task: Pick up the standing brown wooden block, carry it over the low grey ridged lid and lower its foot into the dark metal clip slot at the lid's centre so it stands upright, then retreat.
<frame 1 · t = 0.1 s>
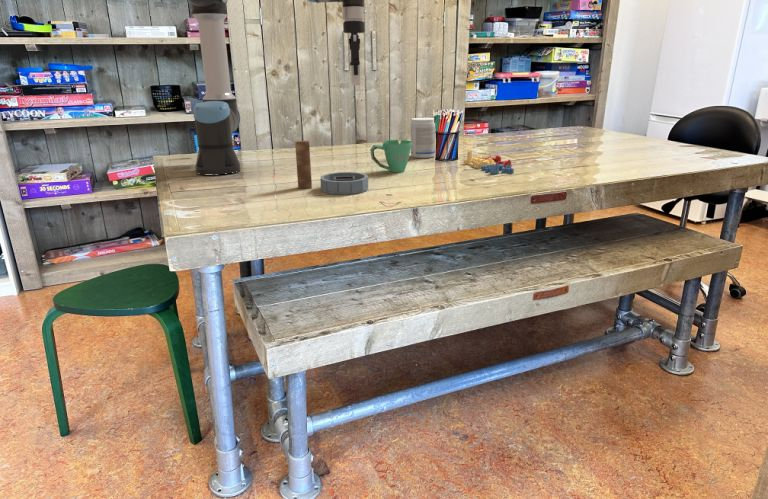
hand: (355, 84, 196), 28 cm above the table, fingers open, 13 cm apart
toy parts cluster: (482, 164, 200), on the table
clip: (344, 182, 161), in the grey ridged lid, point 2 cm above the table
brown wooden block: (305, 187, 164), on the table
supplement tub: (422, 157, 213), on the table
grey ridged lid: (344, 189, 162), on the table
mug: (390, 172, 186), on the table
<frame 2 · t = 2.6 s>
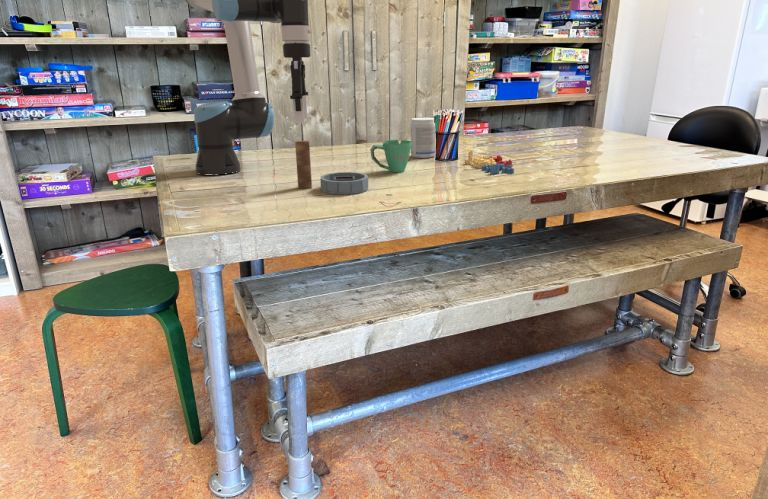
hand: (301, 120, 157), 20 cm above the table, fingers open, 13 cm apart
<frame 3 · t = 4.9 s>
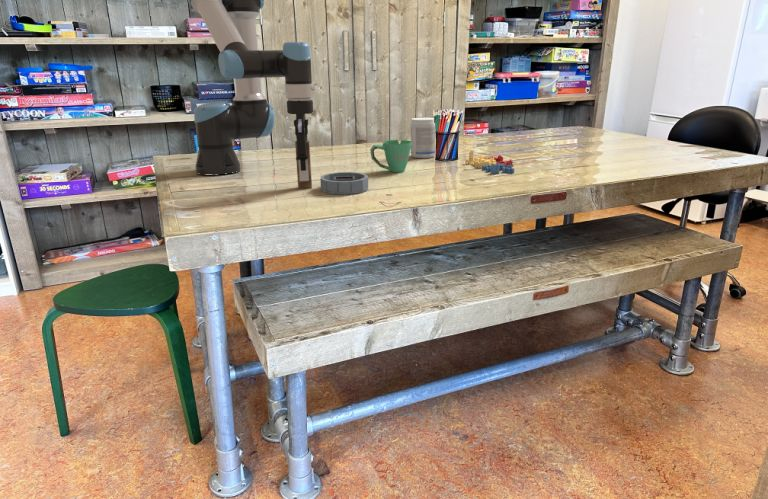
hand: (304, 179, 163), 2 cm above the table, fingers closed on brown wooden block, 2 cm apart
brown wooden block: (305, 187, 164), on the table, touching gripper
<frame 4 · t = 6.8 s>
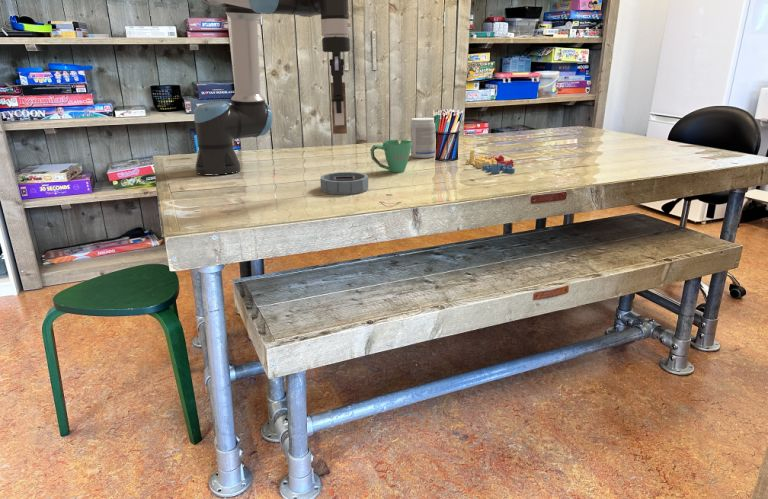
hand: (339, 124, 155), 19 cm above the table, fingers closed on brown wooden block, 2 cm apart
brown wooden block: (340, 133, 156), point 17 cm above the table, touching gripper
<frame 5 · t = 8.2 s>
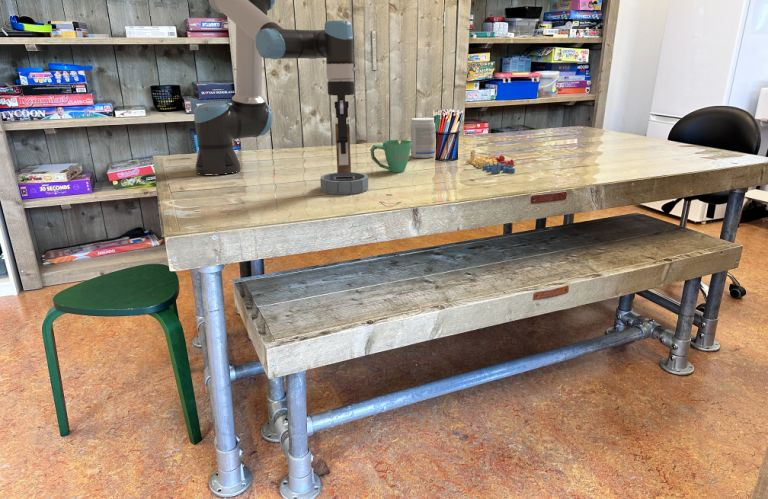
hand: (343, 163, 159), 8 cm above the table, fingers closed on brown wooden block, 2 cm apart
brown wooden block: (344, 172, 160), point 5 cm above the table, touching gripper
when the fingers open (4 cm above the table, at t = 9.1 s): brown wooden block stays where it is, resting on grey ridged lid.
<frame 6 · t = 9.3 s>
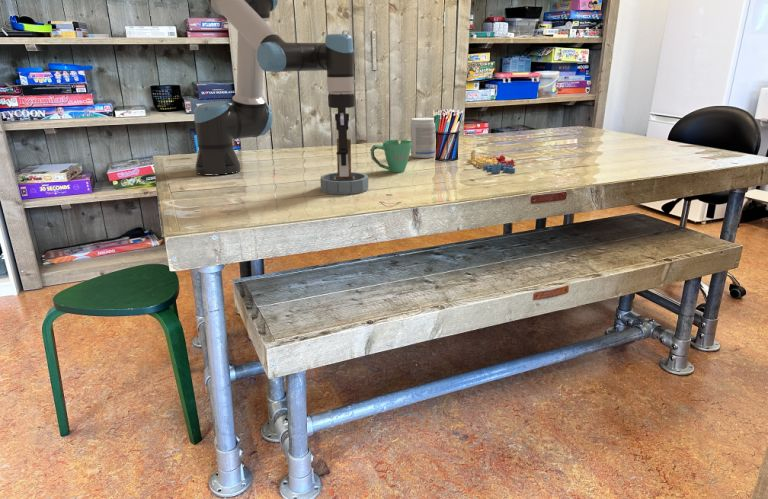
hand: (344, 174, 160), 5 cm above the table, fingers open, 5 cm apart
brown wooden block: (344, 186, 161), point 1 cm above the table, touching grey ridged lid
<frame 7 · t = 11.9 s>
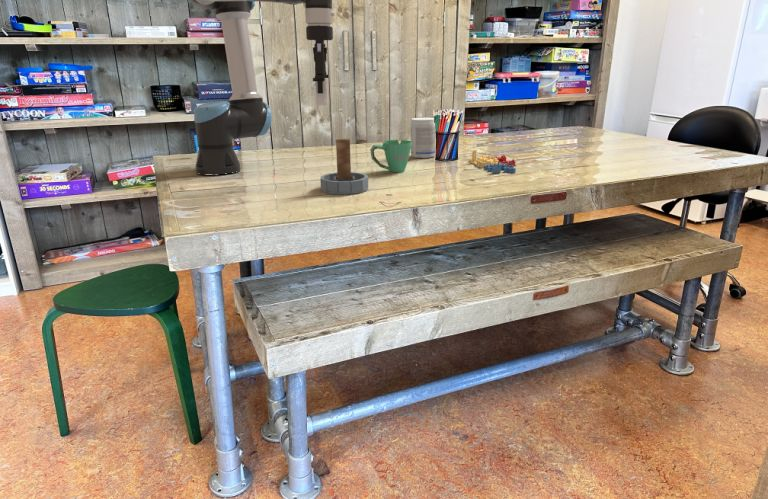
hand: (321, 102, 160), 25 cm above the table, fingers open, 13 cm apart
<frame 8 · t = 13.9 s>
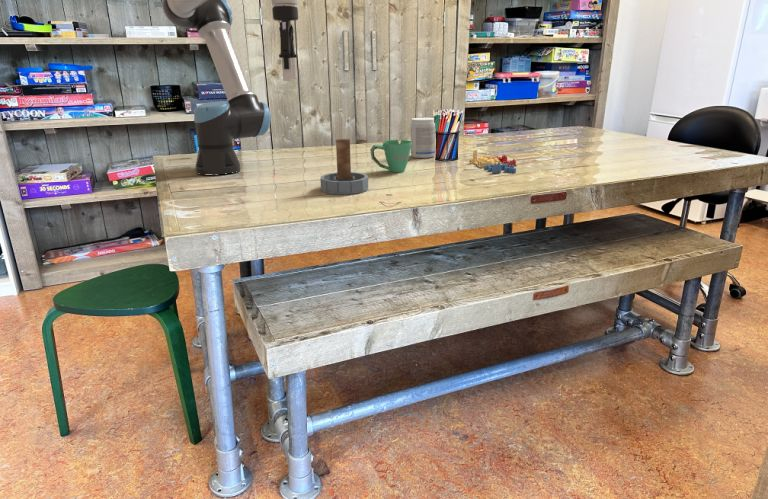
hand: (289, 80, 170), 31 cm above the table, fingers open, 13 cm apart
at the end: brown wooden block 0.0 cm off-centre on the clip, point 0.8 cm above the clip's base; brown wooden block tilted 0°; the gripper is holding nothing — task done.
